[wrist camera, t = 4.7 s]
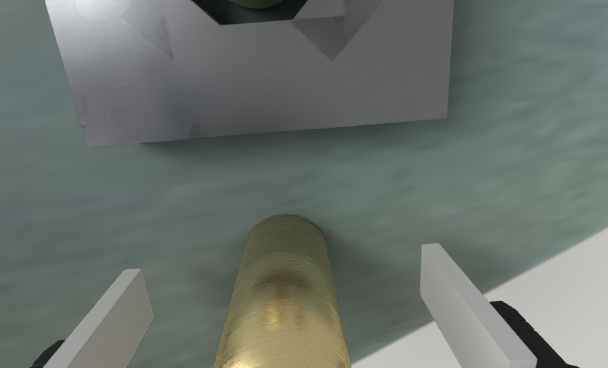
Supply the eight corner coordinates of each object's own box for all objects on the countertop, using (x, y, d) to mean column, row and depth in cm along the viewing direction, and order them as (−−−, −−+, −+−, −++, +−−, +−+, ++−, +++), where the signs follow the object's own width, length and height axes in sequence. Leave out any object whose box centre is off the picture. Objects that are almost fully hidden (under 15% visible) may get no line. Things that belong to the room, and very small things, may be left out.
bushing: (250, 289, 19) (208, 514, 9) (239, 218, 18) (178, 395, 8) (328, 283, 19) (367, 499, 9) (324, 211, 18) (364, 379, 8)
